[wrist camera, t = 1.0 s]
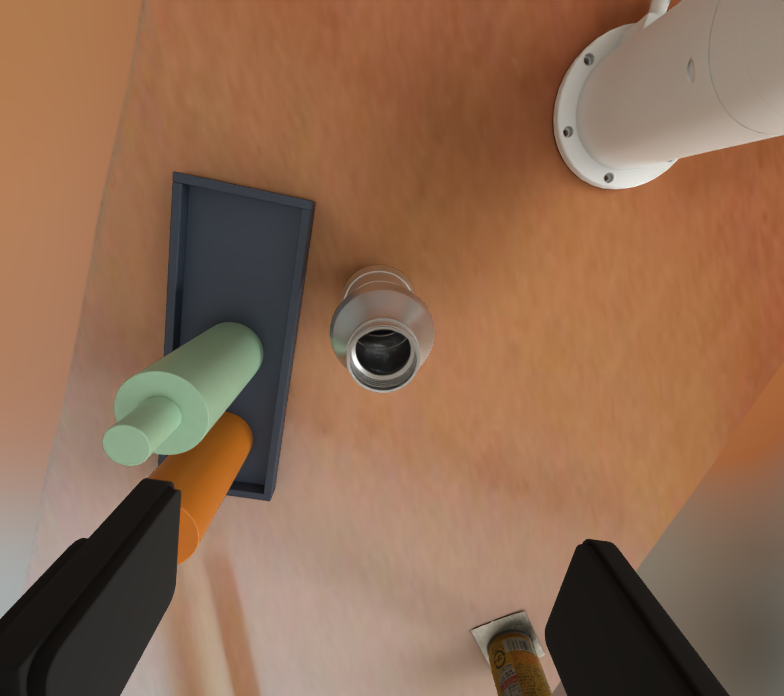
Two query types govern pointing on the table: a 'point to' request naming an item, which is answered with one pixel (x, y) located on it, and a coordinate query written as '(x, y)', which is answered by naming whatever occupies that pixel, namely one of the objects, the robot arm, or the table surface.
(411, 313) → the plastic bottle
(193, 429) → the sage bottle
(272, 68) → the table surface
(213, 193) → the tray
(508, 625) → the condiment
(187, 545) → the amber bottle
